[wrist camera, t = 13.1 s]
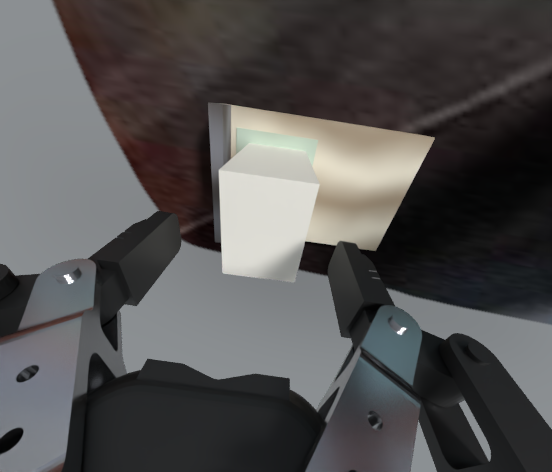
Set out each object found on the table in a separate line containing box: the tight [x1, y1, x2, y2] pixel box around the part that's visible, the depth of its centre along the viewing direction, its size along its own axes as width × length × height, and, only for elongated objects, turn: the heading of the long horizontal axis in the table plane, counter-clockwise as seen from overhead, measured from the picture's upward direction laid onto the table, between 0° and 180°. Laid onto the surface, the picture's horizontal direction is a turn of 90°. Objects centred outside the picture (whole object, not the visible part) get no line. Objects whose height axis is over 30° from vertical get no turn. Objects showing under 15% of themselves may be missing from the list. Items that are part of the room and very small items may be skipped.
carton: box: [219, 143, 320, 283], centre depth 15 cm, size 5×7×9 cm
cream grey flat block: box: [208, 103, 435, 251], centre depth 19 cm, size 12×18×4 cm, turn 82°
